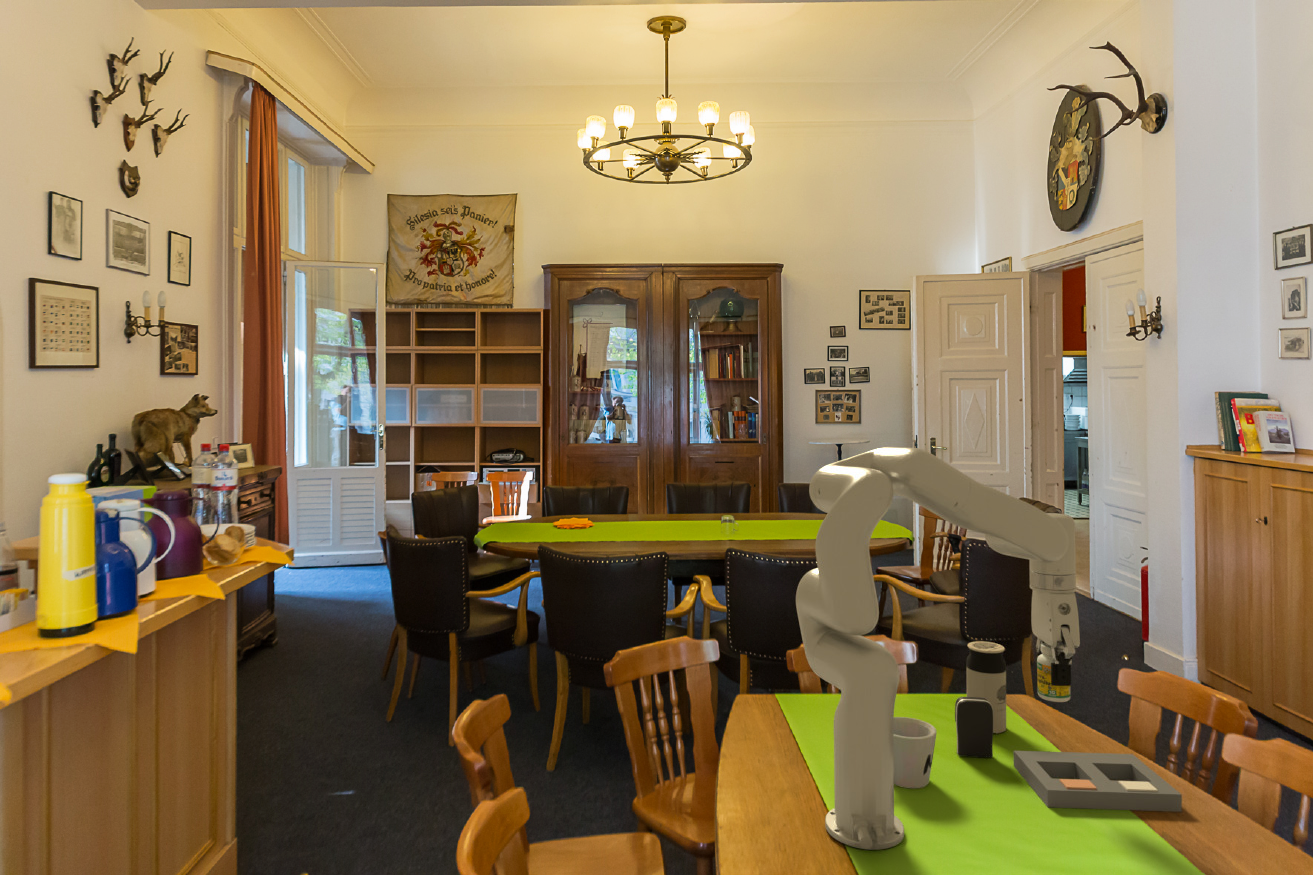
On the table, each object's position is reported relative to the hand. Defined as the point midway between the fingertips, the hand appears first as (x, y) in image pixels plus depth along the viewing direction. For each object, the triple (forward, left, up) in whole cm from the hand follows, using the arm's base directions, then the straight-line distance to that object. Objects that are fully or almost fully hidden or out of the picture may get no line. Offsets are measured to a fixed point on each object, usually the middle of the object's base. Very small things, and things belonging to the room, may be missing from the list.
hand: (1053, 678), depth 140 cm
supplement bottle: (0, 0, -4) cm, 4 cm away
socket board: (0, -7, -20) cm, 21 cm away
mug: (+1, +28, -20) cm, 35 cm away
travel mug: (+27, +3, -20) cm, 34 cm away
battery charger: (+13, +10, -20) cm, 26 cm away
